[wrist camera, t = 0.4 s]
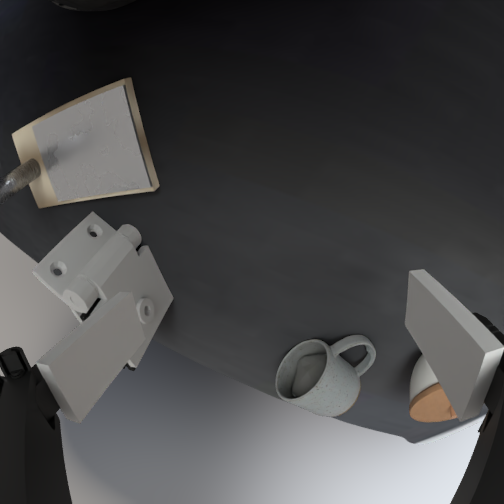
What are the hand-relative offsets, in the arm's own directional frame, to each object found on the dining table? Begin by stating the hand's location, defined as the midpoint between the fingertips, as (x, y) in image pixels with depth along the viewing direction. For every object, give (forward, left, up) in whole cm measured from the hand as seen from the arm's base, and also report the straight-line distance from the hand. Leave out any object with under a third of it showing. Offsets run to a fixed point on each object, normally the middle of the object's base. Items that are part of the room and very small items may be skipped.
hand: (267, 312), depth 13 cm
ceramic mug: (+21, +3, -13) cm, 24 cm away
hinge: (+7, -18, -13) cm, 23 cm away
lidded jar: (+21, +18, -13) cm, 30 cm away
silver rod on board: (-6, -20, -11) cm, 24 cm away
